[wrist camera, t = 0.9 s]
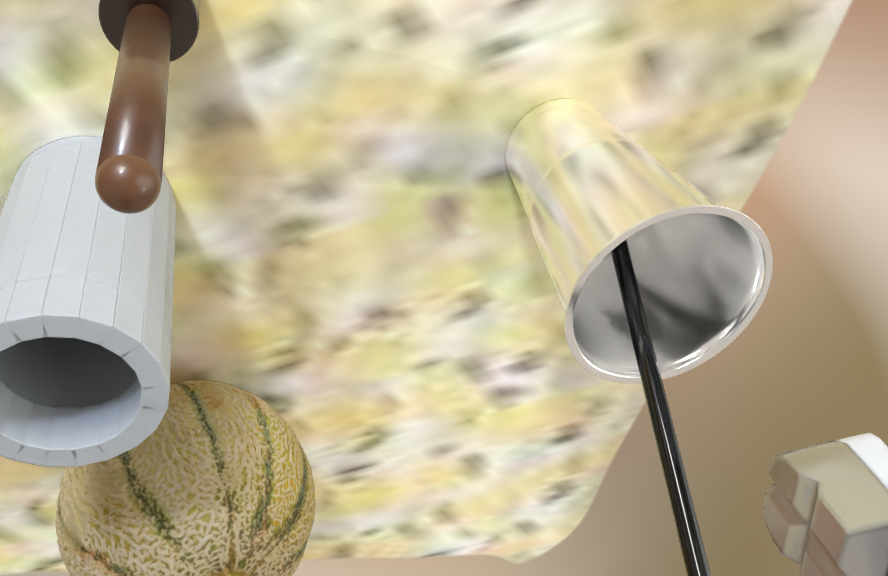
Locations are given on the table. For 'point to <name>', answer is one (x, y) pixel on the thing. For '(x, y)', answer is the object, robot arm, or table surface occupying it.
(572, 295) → the glass
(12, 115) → the table surface
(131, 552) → the cantaloupe
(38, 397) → the grey hollow cylinder
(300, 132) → the table surface
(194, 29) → the brown pestle
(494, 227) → the table surface
